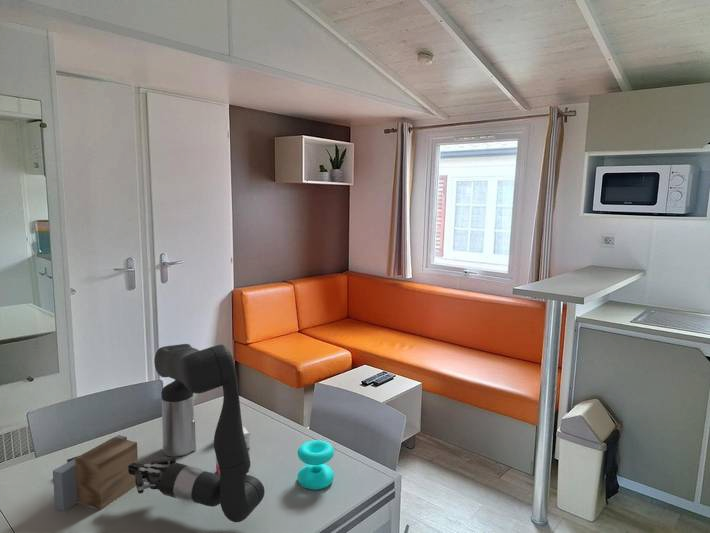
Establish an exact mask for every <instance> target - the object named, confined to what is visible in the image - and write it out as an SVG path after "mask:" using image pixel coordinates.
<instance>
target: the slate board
mask: <svg viewBox="0 0 710 533" xmlns="http://www.w3.org/2000/svg"><path fill="white" fill-rule="evenodd" d="M115 437H116V438H121V439H125V440H128V437H127V436H125V435H120V434H117V435H116V436H115ZM52 479H53V480H52V481H53V495H54V496H53V497H54V500H53V501H54V509H56V510H58V511H62V512H66V511H67V510H68V509H70V508H71V507H72V506H74V505H76V504H79V503H78V501H77V483H76V466H75V459H73V460H71V461H69V462H68V463H67V462H66V463H64V464H62V465H61V466H58V467H57V468H55V469H53V470H52Z"/></svg>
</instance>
